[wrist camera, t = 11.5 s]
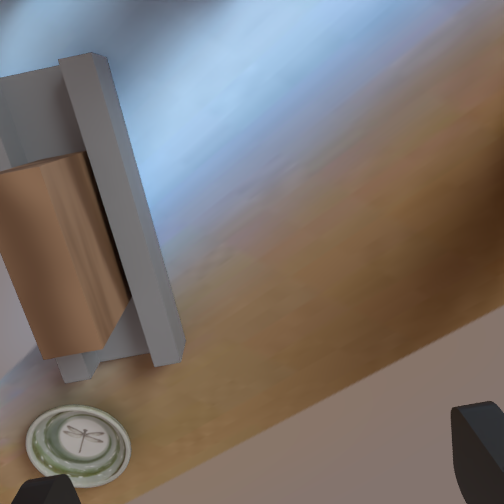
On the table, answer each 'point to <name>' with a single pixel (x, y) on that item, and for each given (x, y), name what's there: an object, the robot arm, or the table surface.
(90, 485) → the saucer
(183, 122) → the table surface
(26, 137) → the picture ledge
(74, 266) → the wooden framed block
